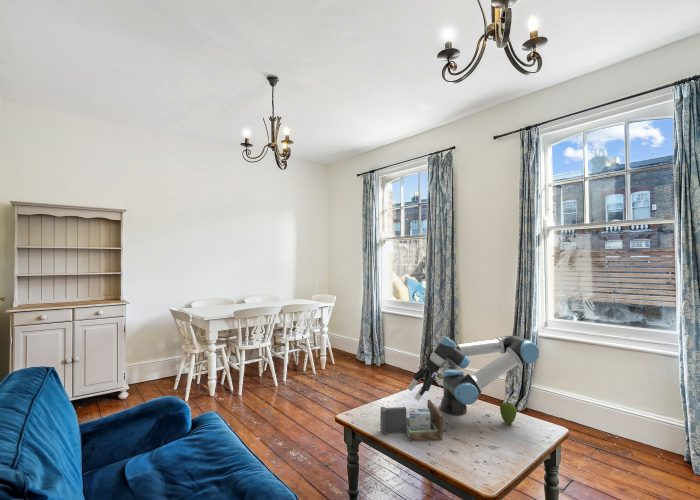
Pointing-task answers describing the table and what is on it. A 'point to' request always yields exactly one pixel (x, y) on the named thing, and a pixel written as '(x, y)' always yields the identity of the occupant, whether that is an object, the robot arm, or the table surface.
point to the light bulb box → (419, 419)
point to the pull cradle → (398, 421)
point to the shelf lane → (437, 421)
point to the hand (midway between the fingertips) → (412, 394)
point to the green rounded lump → (508, 412)
